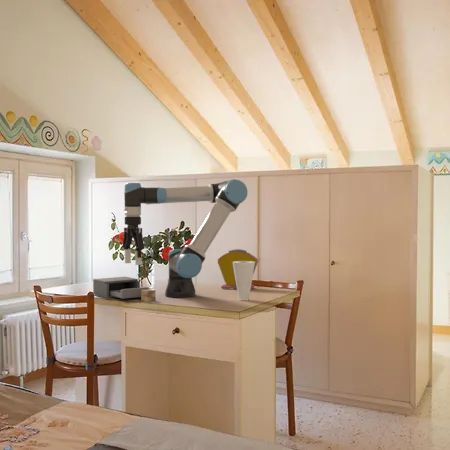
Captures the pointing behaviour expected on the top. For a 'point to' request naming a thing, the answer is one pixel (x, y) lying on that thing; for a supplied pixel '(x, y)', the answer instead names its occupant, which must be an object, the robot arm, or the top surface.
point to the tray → (128, 292)
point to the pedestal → (148, 295)
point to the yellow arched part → (227, 265)
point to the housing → (113, 285)
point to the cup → (243, 277)
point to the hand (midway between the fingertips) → (133, 264)
